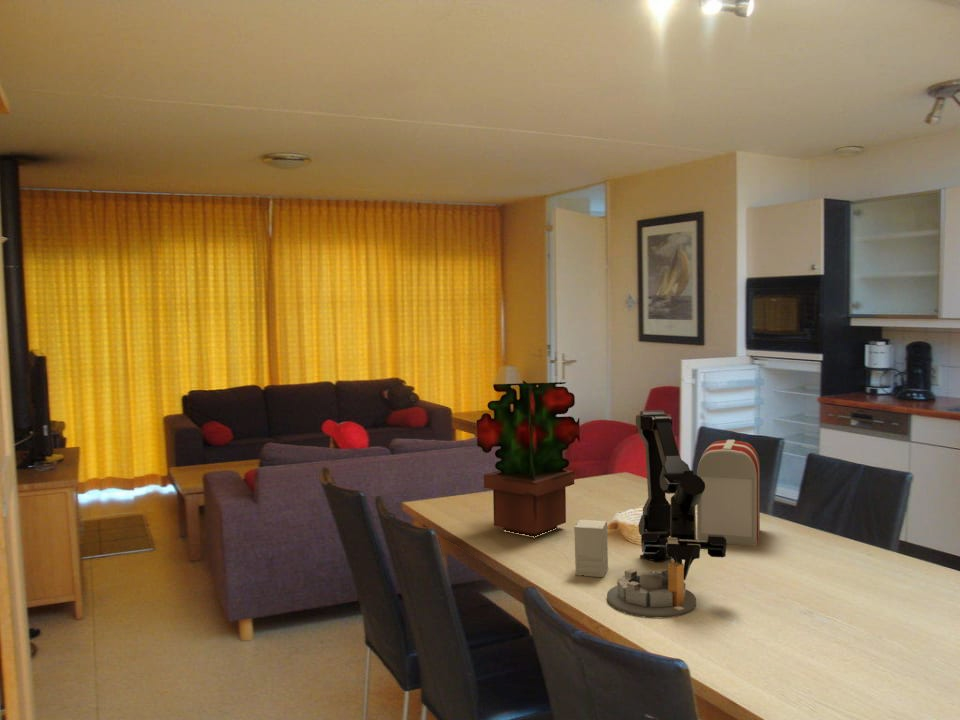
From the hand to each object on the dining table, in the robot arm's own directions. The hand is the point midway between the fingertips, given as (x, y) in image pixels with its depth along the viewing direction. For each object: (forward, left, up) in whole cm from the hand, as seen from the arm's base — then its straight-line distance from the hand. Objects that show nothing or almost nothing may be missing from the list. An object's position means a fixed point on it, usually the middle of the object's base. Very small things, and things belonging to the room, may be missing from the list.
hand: (683, 579), depth 178 cm
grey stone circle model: (-8, -1, -7) cm, 10 cm away
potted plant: (-68, +22, -7) cm, 72 cm away
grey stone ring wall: (-8, -1, -5) cm, 10 cm away
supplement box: (-30, +5, -7) cm, 32 cm away
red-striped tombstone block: (-22, +58, -7) cm, 63 cm away
